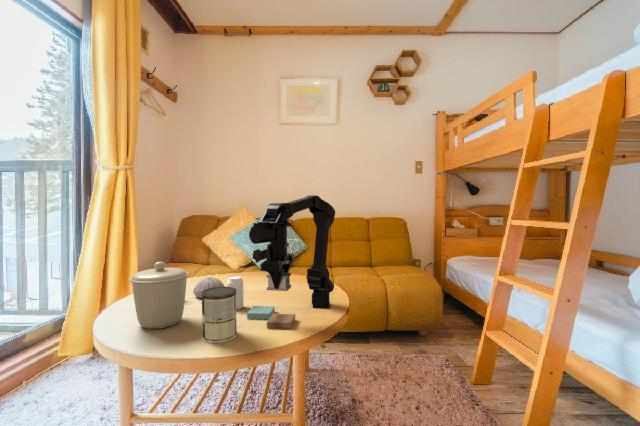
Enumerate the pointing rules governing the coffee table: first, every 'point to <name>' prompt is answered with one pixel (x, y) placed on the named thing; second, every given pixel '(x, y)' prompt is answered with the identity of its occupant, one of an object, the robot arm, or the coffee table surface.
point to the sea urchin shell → (206, 285)
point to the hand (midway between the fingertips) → (279, 286)
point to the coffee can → (219, 314)
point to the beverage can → (237, 289)
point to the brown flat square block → (281, 321)
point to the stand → (260, 312)
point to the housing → (283, 284)
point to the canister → (159, 295)
